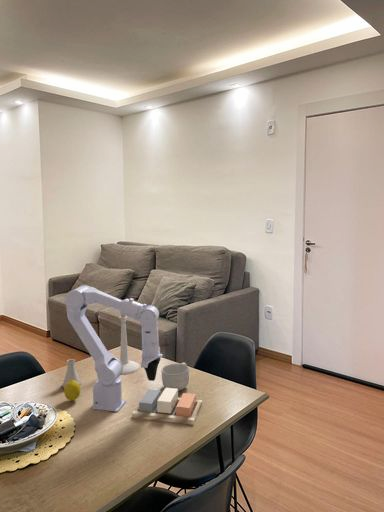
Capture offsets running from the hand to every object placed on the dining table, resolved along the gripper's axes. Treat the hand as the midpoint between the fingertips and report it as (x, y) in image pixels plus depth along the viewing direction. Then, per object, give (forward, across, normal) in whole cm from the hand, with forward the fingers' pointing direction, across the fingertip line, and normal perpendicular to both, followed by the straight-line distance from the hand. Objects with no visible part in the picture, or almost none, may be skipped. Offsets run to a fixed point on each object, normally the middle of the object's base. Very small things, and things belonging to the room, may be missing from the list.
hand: (151, 379), depth 141 cm
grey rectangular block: (+10, 0, +1) cm, 10 cm away
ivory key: (+9, 0, -6) cm, 10 cm away
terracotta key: (+10, 0, -12) cm, 16 cm away
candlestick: (+10, +31, +23) cm, 40 cm away
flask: (+10, +10, +37) cm, 40 cm away
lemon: (+10, -1, +30) cm, 32 cm away
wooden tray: (+11, 0, -6) cm, 12 cm away
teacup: (+11, +19, -4) cm, 22 cm away
